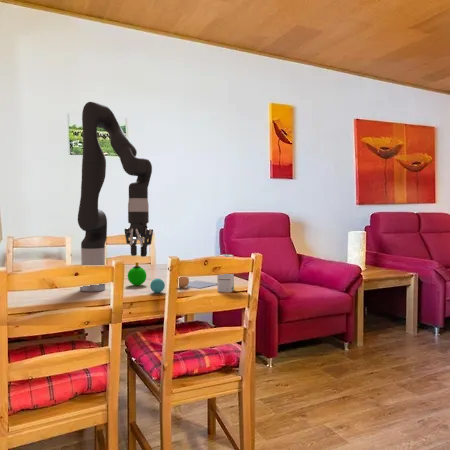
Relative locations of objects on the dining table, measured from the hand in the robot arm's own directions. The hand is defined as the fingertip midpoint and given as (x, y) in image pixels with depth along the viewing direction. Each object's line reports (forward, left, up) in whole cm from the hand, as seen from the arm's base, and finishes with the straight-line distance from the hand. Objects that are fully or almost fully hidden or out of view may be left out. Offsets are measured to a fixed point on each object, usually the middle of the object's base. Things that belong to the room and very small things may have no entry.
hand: (138, 255), depth 157 cm
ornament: (-5, +24, -16) cm, 29 cm away
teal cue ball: (+6, +7, -13) cm, 16 cm away
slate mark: (+22, +26, -15) cm, 37 cm away
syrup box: (+33, +10, -16) cm, 38 cm away
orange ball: (+15, +18, -13) cm, 27 cm away
